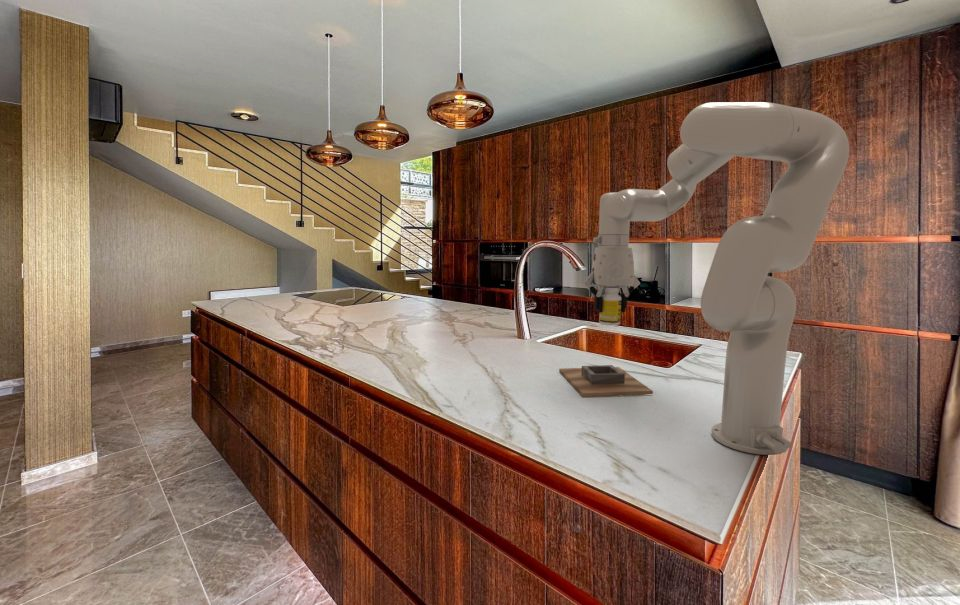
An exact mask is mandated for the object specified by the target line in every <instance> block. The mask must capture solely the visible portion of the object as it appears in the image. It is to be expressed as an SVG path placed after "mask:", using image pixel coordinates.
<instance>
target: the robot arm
mask: <svg viewBox="0 0 960 605" xmlns="http://www.w3.org/2000/svg"><path fill="white" fill-rule="evenodd" d="M679 135H680V140H681V143H682V144H681V145H679V146H678V147H677V148H676V149H675V150H673V151H672V152H671V153H670V154H669V156H668V157H667V162H666V164H667V169H668V171H669V174H670V176H671V179H670V180H669V181H668V182H667V183H666V184H664V185H663V186H662V187H660V188H659V189H657V190H656V189H640V188H639V189H638V188H628V189H623V190H619V191H618V192H617V191H616V192H606V193H604V194H602V195H601V196H600V200H599V215H598V216H599V217H598V219H599V220H598V235H597V236H596V237H593V239H592V242H593V243H595V244H597V247H595V250H594V252H593V253H594V254H593V257H592V265H591V272H590V273H589V275H588V276H587V277H586V278H585V279H584V281H583V282H582V285H583V286H584V287H585V288H587V289H588V291H590V293H591V294H592V295H593V296H594V303H593V305H594V309H595V311H596V312H597V313H600V312H602V307H603V298H602V297H601V296H602V295H603V289H604V287H605V286H606V287H610V286H615V287H619V293H620V294H619V296H621V298H622V300H621V313H625V312H626V309H627V307H628V298H629V296H630V294H632V292H633V291H634V290H635V289H636V288H638V286H639V285H641V282H640V281H639V279H638V277H636V275H635V267H634V266H635V264H634V254H633V252H634V251H633V249H632V247H629V245H630V243H629V242H630V227H631V226H630V224H631V223H630V222H651V223H652V222H653V223H654V222H660V221H663V220H665V219H667V218H668V217H670V216H672V215H673V214H675V213H676V212H677V211H679V210H680V209H681V208H683V207H684V206H686V205H687V204H688V203H689V201H690V199H691V198H692V197H693V195H694V193H695V191H696V189H697V185H698V184H699V183H700V182H702V181H703V180H705V179H706V178H707V177H709V176H710V175H711V174H713V173H714V172H716V171H717V170H718V169H719V168H721V167H722V166H723V165H725V164H726V163H727V162H729V161H731V160H732V159H733V158H735V157H741V158H747V159H748V158H749V159H758V160H763V161H764V160H766V161H775V162H783V163H785V164H787V168H786V170H785V172H784V173H783V174H782V175H781V177H780V178H779V179H778V180H777V181H776V183H775V185H774V187H773V189H772V191H771V193H770V197H769V200H768V202H767V205H766V207H765V210H764V211H763V214H762V216H759V215H758V216H750V217H745V218H742V219H739V220H738V221H736V222H734V223H733V224H732V225H730V226H729V227H728V228H727V230H726V231H725V232H724V234H722V236H721V238H720V240H719V242H718V244H717V246H716V249H715V253H714V256H713V259H712V262H711V264H710V267H709V270H708V273H707V277H706V281H705V282H704V285H703V289H702V293H701V297H700V311H701V315H702V317H703V319H704V321H705V322H706V323H707V325H709V326H710V327H711V328H713V329H714V330H716V331H720V332H725V333H726V332H727V333H730V335H729V338H728V340H727V346H726V350H725V351H726V352H725V353H726V354H725V366H724V378H723V391H722V392H723V394H722V404H721V405H722V406H721V407H722V408H721V409H722V410H721V419H720V420H721V422H719V423H716V424H714V425H713V426H712V427H711V436H712V437H713V439H714V440H715V441H716V442H719V443H720V444H721V445H723V446H726V447H727V448H731V449H733V450H736V451H739V452H742V453H743V452H744V453H748V454H753V455H761V456H773V455H774V456H775V455H781V454H783V453H786V452H787V451H788V449H790V448H791V446H792V442H791V441H790V440H788V439H787V438H786V437H785V436H783V435H784V434H783V433H784V432H783V431H784V427H782V426H781V414H782V404H783V396H784V395H783V392H784V382H785V370H786V369H785V368H786V362H787V353H788V352H787V351H788V345H789V338H790V334H791V329H792V326H793V323H794V319H795V317H796V311H797V299H796V294H795V292H794V291H793V289H792V288H791V286H790V285H789V284H788V283H786V282H785V281H784V280H782V279H780V278H777V277H774V276H769V275H768V274H770V273H771V274H773V273H783V272H784V273H785V272H790V271H794V270H796V269H799V268H800V267H801V266H802V265H803V264H804V263H805V262H806V261H807V260H808V258H809V256H810V253H811V251H812V248H813V246H814V244H815V241H816V238H817V236H818V234H819V232H820V229H821V227H822V226H823V225H822V224H823V223H824V222H823V221H824V219H825V218H826V214H827V212H828V210H829V206H830V204H831V202H832V199H833V196H834V194H835V192H836V189H837V187H838V186H839V183H840V182H841V179H842V177H843V174H844V173H845V170H846V167H847V165H848V161H849V155H850V142H849V138H848V135H847V134H846V132H845V130H844V129H843V127H842V126H841V125H840V124H839V123H838V122H837V121H835V120H833V119H832V118H830V117H828V116H827V115H825V114H822V113H820V112H817V111H813V110H810V109H805V108H801V107H794V106H789V105H786V104H781V103H774V102H768V101H767V102H764V101H752V102H751V101H746V102H743V101H742V102H741V101H740V102H738V101H737V102H732V101H731V102H730V101H729V102H721V101H720V102H719V101H718V102H714V101H712V102H705V103H702V104H700V105H698V106H696V107H694V108H693V109H692V110H691V111H690V112H689V113H688V114H687V115H686V117H685V118H684V120H682V123H681V125H680V132H679ZM592 284H593V285H595V286H593V285H592Z"/></svg>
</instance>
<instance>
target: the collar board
mask: <svg viewBox="0 0 960 605" xmlns="http://www.w3.org/2000/svg"><path fill="white" fill-rule="evenodd" d="M558 370H559V373H560V374H561V376H563V378H564V379H565V380H566V381H567V382H568V383H569V384H570V385H571V386H572V388H573V389H574V390H575V391H576V392H577V393H578V394H579V395H580V396H581V397H582V398H596V397H597V398H599V397H601V396H603V397H620V396H619V395H633V396H645V395H644V394H653V393H654V391H653V390H652V389H650V388H649V387H648V386H647V385H645V383H644V384H643V383H642V382H641V381H640V380H638V379H637V378H636V377H634V376H632V375H631V374H630V373H628V372H626V371H625V370H623V369H622V368H621V367H620V366H614V365H612V364H609V365H606V364H605V365H581V367H572V368H571V367H569V368H567V367H566V368H559V369H558ZM653 395H654V394H653Z"/></svg>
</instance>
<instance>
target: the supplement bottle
mask: <svg viewBox="0 0 960 605" xmlns="http://www.w3.org/2000/svg"><path fill="white" fill-rule="evenodd" d="M602 293H603V294H601V297H602V298H603V307H602V312H599V315H598V316H599V319H598V323H599V324H601V325H602V326H603V325H604V326H619V325H620V324H621V315H622V312H621V300H622V298H621V296H620V294H619V293H620V290H619V286H610V287H606V286H604V289H603V291H602Z"/></svg>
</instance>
